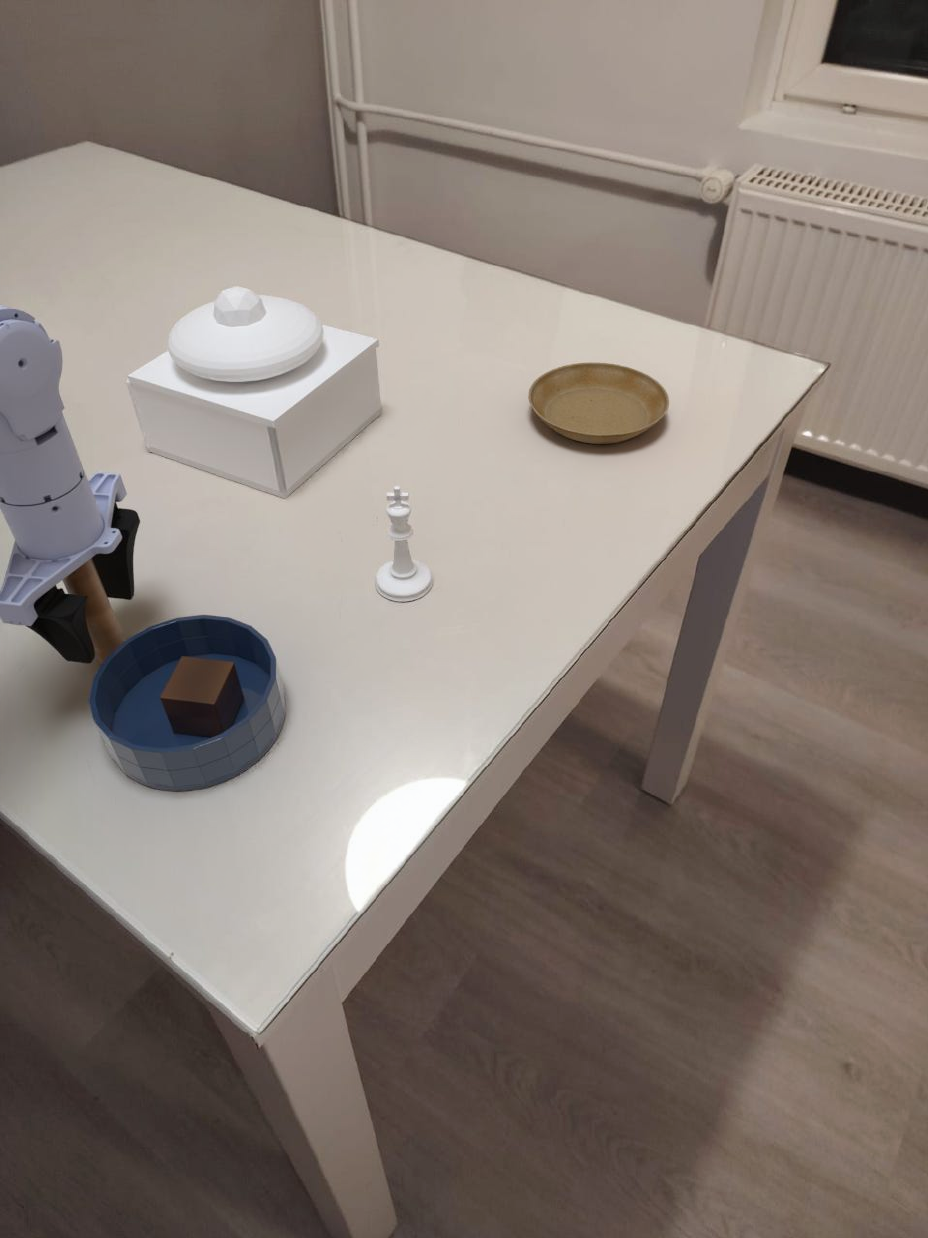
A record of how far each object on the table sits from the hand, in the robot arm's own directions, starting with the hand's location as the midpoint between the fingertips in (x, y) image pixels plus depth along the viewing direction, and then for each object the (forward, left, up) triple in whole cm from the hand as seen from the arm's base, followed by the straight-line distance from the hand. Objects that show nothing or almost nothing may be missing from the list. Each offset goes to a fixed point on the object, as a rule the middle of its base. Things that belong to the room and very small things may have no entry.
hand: (101, 626), depth 66 cm
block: (+10, -5, -3) cm, 12 cm away
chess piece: (+21, +12, -4) cm, 24 cm away
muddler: (0, 0, -3) cm, 3 cm away
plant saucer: (+36, +41, -4) cm, 55 cm away
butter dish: (+2, +33, -4) cm, 33 cm away
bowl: (+9, -5, -3) cm, 11 cm away
